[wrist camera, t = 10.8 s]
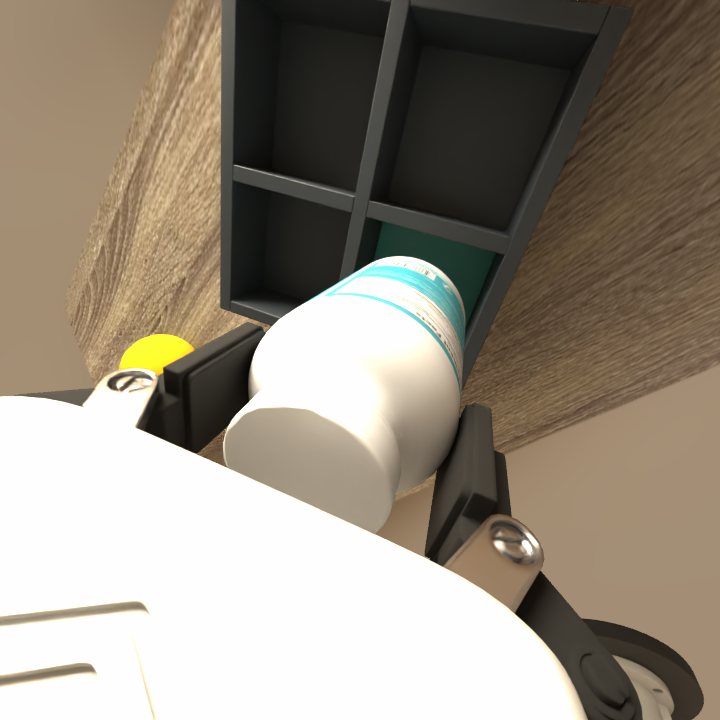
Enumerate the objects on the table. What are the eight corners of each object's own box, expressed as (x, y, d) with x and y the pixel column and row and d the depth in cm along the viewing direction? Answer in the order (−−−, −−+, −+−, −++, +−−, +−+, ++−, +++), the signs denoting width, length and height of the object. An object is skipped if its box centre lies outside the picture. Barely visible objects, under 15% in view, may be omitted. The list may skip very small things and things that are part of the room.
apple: (224, 376, 40) (176, 411, 33) (184, 392, 43) (133, 426, 37) (187, 317, 38) (127, 341, 31) (147, 338, 41) (87, 364, 35)
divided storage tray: (593, 58, 19) (635, 7, 14) (463, 359, 30) (461, 393, 25) (278, 5, 23) (221, -50, 18) (259, 291, 33) (219, 308, 28)
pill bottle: (369, 382, 23) (255, 575, 11) (326, 279, 20) (127, 384, 9) (482, 357, 19) (489, 591, 8) (446, 232, 17) (380, 300, 6)
